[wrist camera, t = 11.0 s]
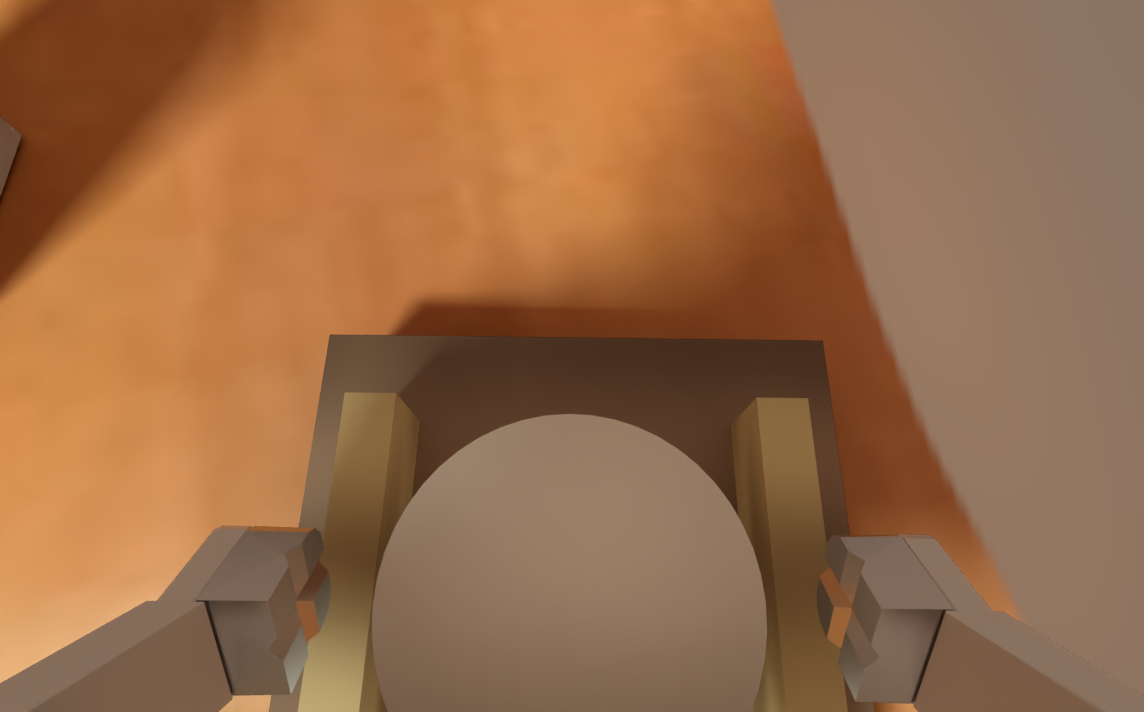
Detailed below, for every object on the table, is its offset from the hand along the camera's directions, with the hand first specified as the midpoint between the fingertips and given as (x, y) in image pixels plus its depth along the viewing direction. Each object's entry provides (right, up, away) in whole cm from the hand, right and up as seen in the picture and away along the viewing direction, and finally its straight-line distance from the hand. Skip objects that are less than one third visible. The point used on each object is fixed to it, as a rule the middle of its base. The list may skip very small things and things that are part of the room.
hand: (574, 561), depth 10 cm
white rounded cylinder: (0, -3, +5) cm, 6 cm away
